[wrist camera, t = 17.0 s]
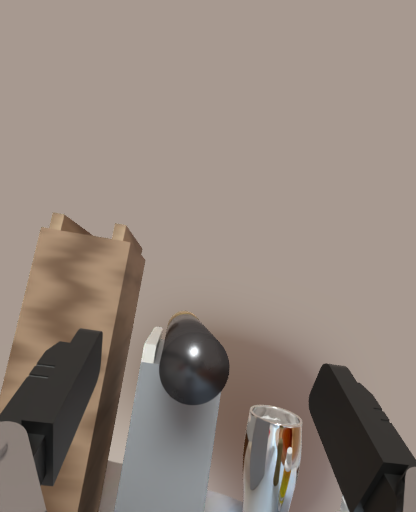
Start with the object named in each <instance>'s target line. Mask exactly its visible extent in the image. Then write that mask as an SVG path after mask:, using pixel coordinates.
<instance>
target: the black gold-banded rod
mask: <svg viewBox="0 0 416 512" xmlns="http://www.w3.org/2000/svg"><path fill="white" fill-rule="evenodd" d="M228 375H229V360H228V356H227V354H226V351H225V349H224V348H223V346H222V345H221V344H220V342H219V341H218V340H217V339H216V338H215V337H214V336H213V335H212V334H211V333H210V332H209V331H208V330H207V328H205V326H204V325H203V324H202V323H201V322H200V321H199V319H198V318H197V317H196V316H195V315H193V314H192V313H190V312H187V311H181V312H178V313H176V314H174V315H173V316H172V317H171V319H170V320H169V323H168V327H167V332H166V337H165V341H164V346H163V350H162V355H161V359H160V364H159V376H160V380H161V383H162V386H163V387H164V389H165V391H166V392H167V393H168V394H169V396H170V397H172V398H173V399H174V400H176V401H178V402H180V403H182V404H186V405H200V404H204V403H207V402H209V401H211V400H212V399H214V398H215V397H216V396H217V395H218V394H219V393H220V392H221V391H222V389H223V388H224V386H225V384H226V382H227V379H228Z"/></svg>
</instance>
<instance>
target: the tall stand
mask: <svg viewBox="0 0 416 512" xmlns="http://www.w3.org/2000/svg"><path fill="white" fill-rule="evenodd" d="M141 253H142V248H141V246H140V245H139V243H138V242H137V241H136V239H135V238H134V236H133V235H132V233H131V232H130V231H129V229H128V227H127V226H126V225H121V224H115V227H114V232H113V237H112V239H108V238H102V237H96V236H93V235H91V234H90V233H89V232H87V231H86V230H85V229H83V228H82V227H80V226H79V225H78V224H77V223H75V222H74V221H72V220H71V219H70V218H68V217H67V216H65V215H64V214H58V213H53V215H52V219H51V223H50V227H49V228H44V227H41V230H40V234H39V238H38V242H37V246H36V250H35V254H34V259H33V263H32V267H31V271H30V275H29V279H28V283H27V287H26V291H25V295H24V300H23V304H22V308H21V312H20V316H19V320H18V324H17V328H16V333H15V337H14V341H13V345H12V349H11V353H10V357H9V361H8V365H7V369H6V374H5V377H4V382H3V386H2V390H1V394H0V413H1V412H2V411H3V409H4V408H5V407H6V405H7V404H8V402H9V401H10V400H11V398H12V397H13V395H14V394H15V393H16V391H17V390H18V389H19V387H20V386H21V384H22V383H23V382H24V380H25V379H26V377H28V376H29V373H30V372H31V371H32V369H33V368H34V366H36V365H37V362H38V361H39V359H40V358H41V357H42V355H43V354H44V352H45V351H46V350H48V349H49V348H51V347H52V346H53V345H55V344H56V343H58V342H59V341H62V342H69V343H70V342H71V340H72V339H73V337H74V336H75V334H76V333H77V331H78V330H79V329H80V328H83V329H90V330H97V331H102V332H103V341H102V355H101V367H100V373H99V377H98V380H97V383H96V386H95V388H94V391H93V393H92V395H91V398H90V400H89V403H88V405H87V407H86V410H85V412H84V414H83V417H82V419H81V422H80V424H79V426H78V429H77V431H76V433H75V436H74V438H73V441H72V443H71V445H70V448H69V450H68V452H67V455H66V457H65V460H64V462H63V464H62V467H61V469H60V471H59V474H58V476H57V479H56V481H55V483H54V486H44V485H41V486H40V487H41V491H42V495H43V499H44V503H45V507H46V510H47V512H98V510H99V504H100V499H101V494H102V488H103V483H104V478H105V472H106V467H107V462H108V456H109V451H110V445H111V440H112V434H113V430H114V424H115V418H116V414H117V408H118V403H119V398H120V392H121V387H122V381H123V376H124V371H125V365H126V360H127V355H128V350H129V344H130V339H131V333H132V328H133V323H134V318H135V312H136V307H137V302H138V296H139V291H140V286H141V281H142V275H143V270H144V265H145V259H144V258H143V257H142V255H141Z"/></svg>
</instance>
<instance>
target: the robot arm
mask: <svg viewBox="0 0 416 512" xmlns="http://www.w3.org/2000/svg"><path fill="white" fill-rule="evenodd" d="M102 341H103V332H102V331H97V330H90V329H83V328H80V329H79V330H78V331H77V333H76V334H75V336H74V337H73V339H72V340H71V342H70V343H69V342H62V341H59V342H58V343H56V344H55V345H53V346H52V347H51V348H49V349H48V350H46V351H45V352H44V354H43V355H42V357H41V358H40V359H39V361H38V362H37V365H36V366H34V368H33V369H32V371H31V372H30V373H29V376H28V377H26V379H25V380H24V382H23V383H22V384H21V386H20V387H19V389H18V390H17V391H16V393H15V394H14V395H13V397H12V398H11V400H10V401H9V402H8V404H7V405H6V407H5V408H4V409H3V411H2V412H1V413H0V512H47V510H46V507H45V503H44V499H43V495H42V491H41V487H40V486H41V485H44V486H54V483H55V481H56V479H57V476H58V474H59V471H60V469H61V467H62V464H63V462H64V460H65V457H66V455H67V452H68V450H69V448H70V445H71V443H72V441H73V438H74V436H75V433H76V431H77V429H78V426H79V424H80V422H81V419H82V417H83V414H84V412H85V410H86V407H87V405H88V403H89V400H90V398H91V395H92V393H93V391H94V388H95V386H96V383H97V380H98V377H99V373H100V367H101V355H102ZM309 410H310V413H311V416H312V418H313V421H314V423H315V426H316V429H317V431H318V433H319V436H320V439H321V441H322V444H323V446H324V449H325V451H326V454H327V456H328V459H329V461H330V464H331V466H332V469H333V472H334V474H335V477H336V479H337V482H338V484H339V487H340V489H341V492H342V494H343V497H344V500H345V502H346V505H347V507H348V510H349V512H416V459H415V458H414V456H413V455H412V453H411V452H410V451H409V449H408V447H407V446H406V445H405V443H404V441H403V440H402V438H401V437H400V435H399V434H398V432H397V431H396V429H395V428H394V426H393V425H392V423H390V422H389V419H388V417H387V416H386V414H385V413H384V412H383V411H382V408H381V407H380V405H379V404H378V402H377V401H376V399H375V398H374V396H373V395H372V394H371V393H370V392H369V391H368V390H367V389H366V388H365V387H364V386H363V385H361V384H360V383H357V382H356V380H355V378H354V377H353V375H352V374H351V372H350V371H349V369H348V368H347V367H345V366H339V365H332V364H323V365H322V367H321V369H320V371H319V373H318V376H317V378H316V381H315V383H314V386H313V388H312V390H311V393H310V395H309Z"/></svg>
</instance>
